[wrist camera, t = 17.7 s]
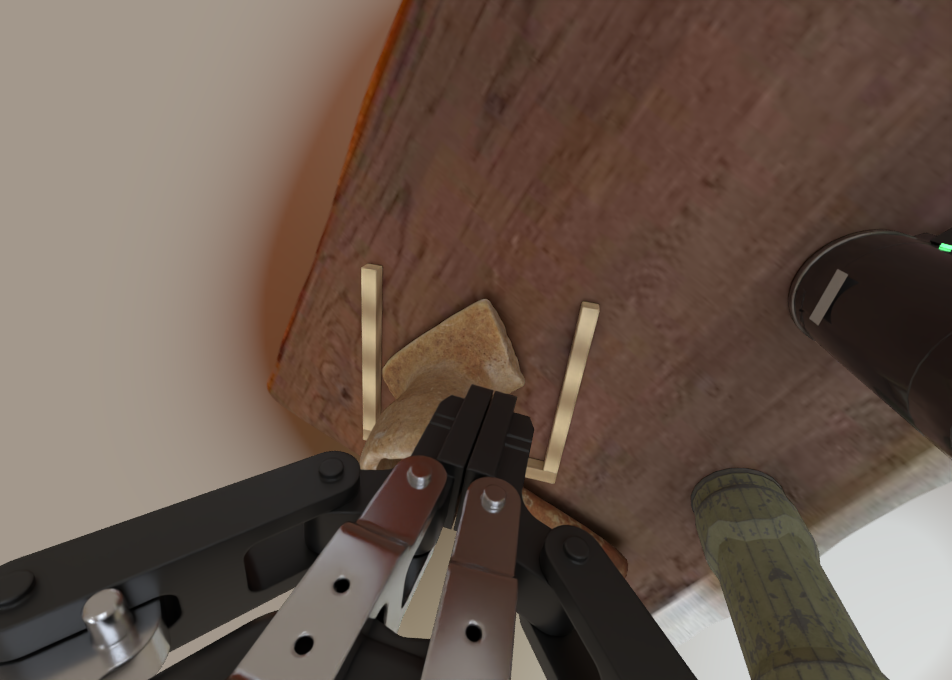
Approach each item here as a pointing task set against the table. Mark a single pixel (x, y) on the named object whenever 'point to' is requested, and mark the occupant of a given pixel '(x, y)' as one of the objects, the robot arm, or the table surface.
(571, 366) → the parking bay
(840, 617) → the thermos
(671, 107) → the table surface
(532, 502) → the rusty brown cylinder
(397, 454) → the stone cup
